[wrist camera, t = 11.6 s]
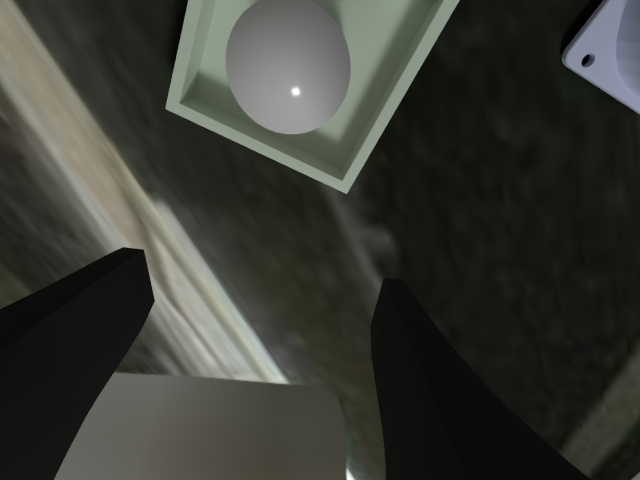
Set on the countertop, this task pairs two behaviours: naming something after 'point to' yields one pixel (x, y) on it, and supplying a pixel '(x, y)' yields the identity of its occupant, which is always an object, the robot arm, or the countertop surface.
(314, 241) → the countertop surface
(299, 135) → the tray
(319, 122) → the marked fuse
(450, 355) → the robot arm
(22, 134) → the countertop surface
